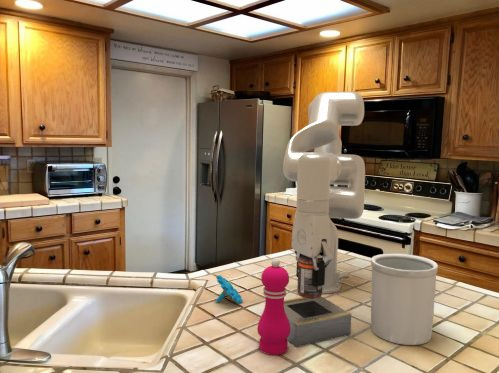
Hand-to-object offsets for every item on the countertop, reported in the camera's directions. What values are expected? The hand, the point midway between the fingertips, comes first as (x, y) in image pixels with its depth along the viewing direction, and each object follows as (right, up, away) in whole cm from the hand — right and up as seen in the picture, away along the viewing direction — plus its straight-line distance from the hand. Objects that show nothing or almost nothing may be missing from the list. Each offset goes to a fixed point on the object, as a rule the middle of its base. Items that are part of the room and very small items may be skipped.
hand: (310, 280), depth 100 cm
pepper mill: (-9, -13, -8) cm, 18 cm away
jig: (0, -12, +2) cm, 12 cm away
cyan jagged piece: (-20, -10, +18) cm, 29 cm away
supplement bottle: (0, -4, 0) cm, 4 cm away
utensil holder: (+22, -13, +1) cm, 25 cm away
